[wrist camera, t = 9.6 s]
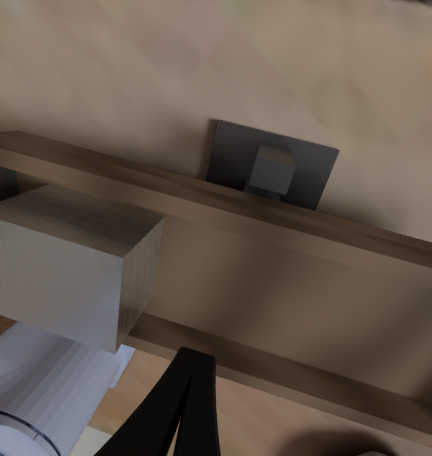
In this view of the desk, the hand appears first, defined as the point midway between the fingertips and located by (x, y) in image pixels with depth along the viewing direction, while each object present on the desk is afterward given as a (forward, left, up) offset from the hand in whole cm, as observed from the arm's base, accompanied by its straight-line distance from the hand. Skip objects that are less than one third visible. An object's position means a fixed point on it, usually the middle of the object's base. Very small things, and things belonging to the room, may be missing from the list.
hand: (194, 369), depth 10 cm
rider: (-6, -1, -5) cm, 8 cm away
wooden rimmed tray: (+1, +1, -6) cm, 6 cm away
